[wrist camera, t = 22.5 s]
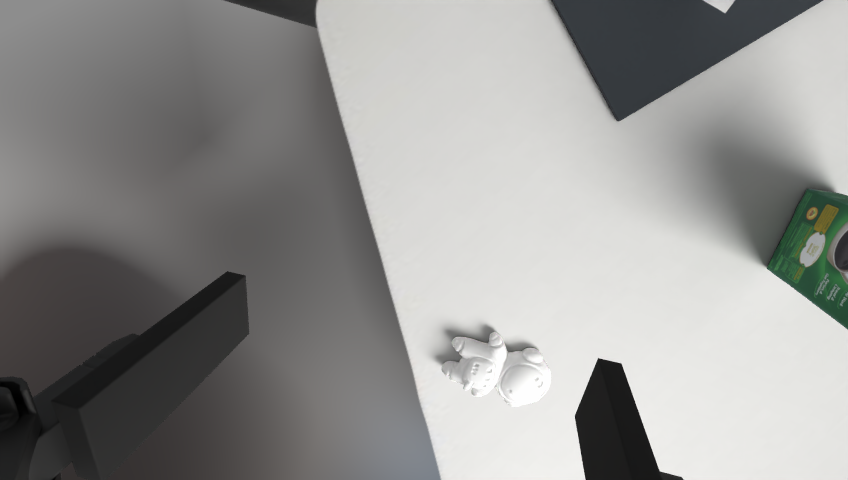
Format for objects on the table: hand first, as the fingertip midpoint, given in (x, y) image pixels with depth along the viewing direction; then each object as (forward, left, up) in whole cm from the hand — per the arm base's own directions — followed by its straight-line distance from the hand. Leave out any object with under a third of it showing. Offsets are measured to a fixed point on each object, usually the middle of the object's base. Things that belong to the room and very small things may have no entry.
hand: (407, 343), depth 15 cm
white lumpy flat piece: (+6, -21, -28) cm, 35 cm away
